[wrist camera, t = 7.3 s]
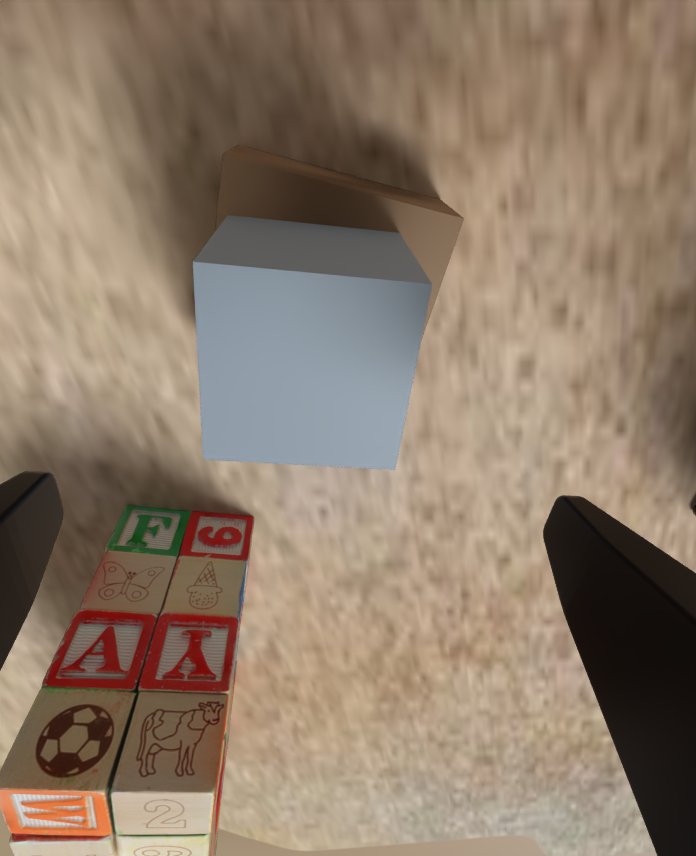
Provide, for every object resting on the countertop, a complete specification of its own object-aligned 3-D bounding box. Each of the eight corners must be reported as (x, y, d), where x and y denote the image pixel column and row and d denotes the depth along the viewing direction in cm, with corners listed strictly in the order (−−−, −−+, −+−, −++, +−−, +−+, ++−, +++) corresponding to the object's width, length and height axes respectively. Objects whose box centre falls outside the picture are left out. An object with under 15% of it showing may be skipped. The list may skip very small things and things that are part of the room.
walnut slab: (438, 198, 18) (463, 218, 15) (383, 372, 21) (394, 416, 19) (238, 144, 17) (222, 154, 14) (215, 338, 20) (199, 379, 17)
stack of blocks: (231, 731, 37) (199, 981, 26) (140, 729, 36) (70, 987, 25) (255, 512, 25) (216, 801, 15) (122, 500, 24) (-17, 799, 14)
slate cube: (376, 382, 18) (395, 470, 14) (230, 371, 17) (203, 459, 13) (399, 233, 15) (432, 284, 11) (227, 214, 14) (192, 261, 10)
